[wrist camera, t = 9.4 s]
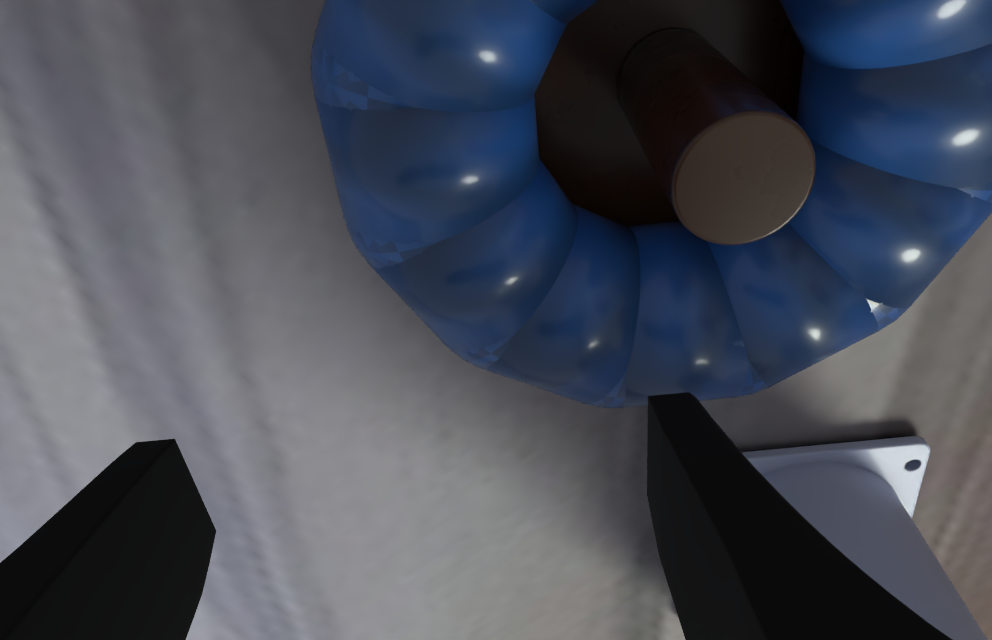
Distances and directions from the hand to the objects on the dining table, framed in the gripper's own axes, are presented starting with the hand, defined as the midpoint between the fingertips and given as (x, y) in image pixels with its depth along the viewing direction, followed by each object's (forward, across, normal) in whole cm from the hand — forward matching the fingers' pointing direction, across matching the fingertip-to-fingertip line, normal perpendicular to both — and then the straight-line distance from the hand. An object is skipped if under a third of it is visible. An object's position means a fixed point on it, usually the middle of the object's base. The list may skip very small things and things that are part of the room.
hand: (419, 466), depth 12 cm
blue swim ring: (+7, -5, -3) cm, 9 cm away
